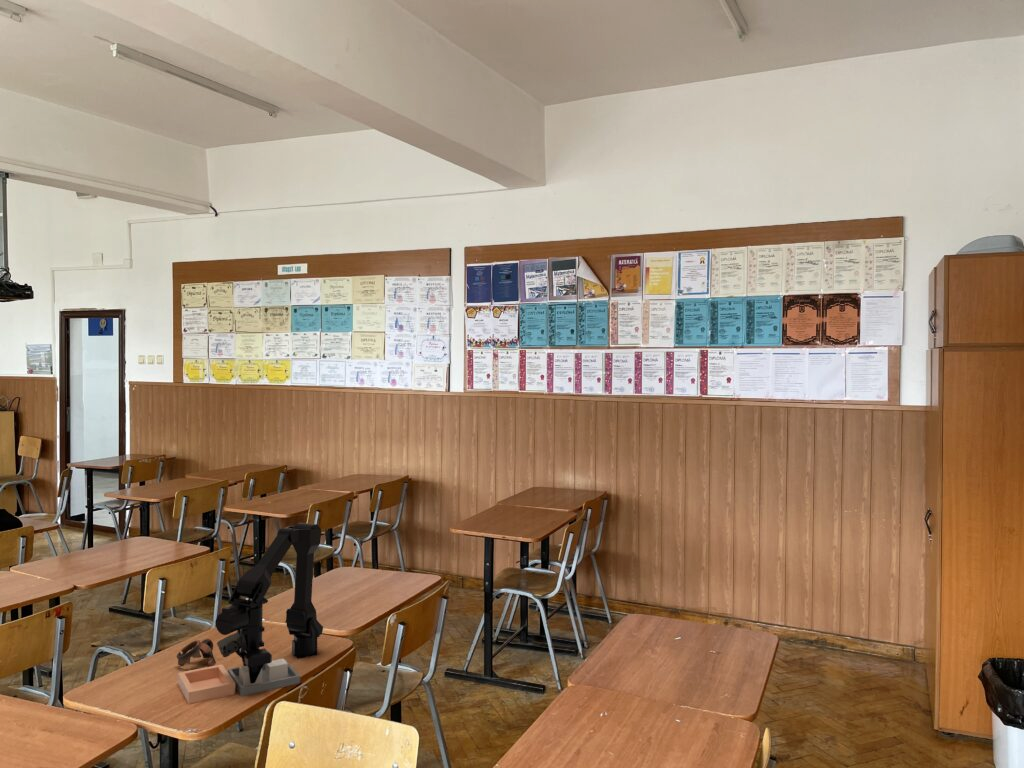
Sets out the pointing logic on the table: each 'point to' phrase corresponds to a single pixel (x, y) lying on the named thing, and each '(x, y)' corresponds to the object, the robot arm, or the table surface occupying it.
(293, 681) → the parts tray
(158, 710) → the table surface
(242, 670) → the cream rectangular block
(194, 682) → the terracotta dish
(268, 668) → the off-white rectangular prism
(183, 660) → the brown curved piece
